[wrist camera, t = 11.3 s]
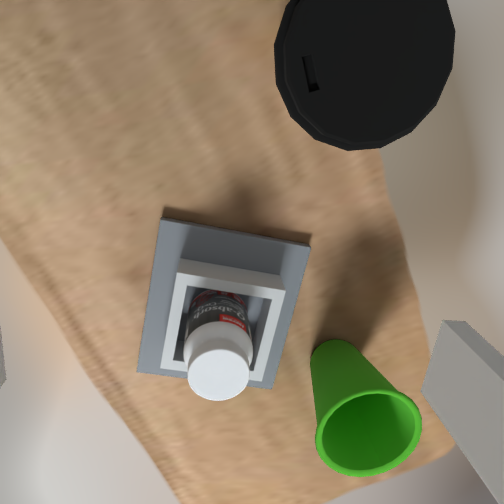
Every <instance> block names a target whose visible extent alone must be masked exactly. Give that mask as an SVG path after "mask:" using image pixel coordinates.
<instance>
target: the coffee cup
mask: <svg viewBox="0 0 504 504" xmlns="http://www.w3.org/2000/svg"><path fill="white" fill-rule="evenodd" d="M454 40H455V28H454V24H453V21H452V17H451V14H450V10H449V7H448V4H447V0H290V2H289V3H288V4H287V6H286V8H285V11H284V14H283V18H282V21H281V24H280V27H279V30H278V33H277V37H276V40H275V43H274V56H275V77H276V85H277V87H278V90H279V92H280V94H281V96H282V99H283V101H284V103H285V105H286V108H287V110H288V112H289V114H290V117H291V118H292V119H294V120H295V121H296V122H297V123H298V124H299V125H300V126H301V127H302V128H303V129H304V130H305V131H306V132H307V133H308V134H309V135H311V136H312V137H313V138H314V139H315V140H318V141H320V142H323V143H326V144H329V145H332V146H335V147H338V148H341V149H344V150H347V151H352V150H363V149H375V148H382V147H383V146H386V145H387V144H389V143H391V142H393V141H395V140H397V139H399V138H401V137H403V136H405V135H407V134H409V133H411V132H412V131H413V130H414V129H415V128H416V127H417V125H418V124H419V123H420V122H421V121H422V120H423V119H424V118H425V117H426V115H428V114H429V112H430V111H431V110H432V109H433V108H434V107H435V106H436V104H437V102H438V100H439V98H440V95H441V93H442V91H443V88H444V86H445V84H446V81H447V79H448V77H449V75H450V72H451V70H452V65H453V54H454Z"/></svg>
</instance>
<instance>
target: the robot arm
mask: <svg viewBox="0 0 504 504" xmlns="http://www.w3.org/2000/svg"><path fill="white" fill-rule="evenodd" d="M5 380H6V373H5V363H4V355H3V346H2V337H1V328H0V387H1V386H2V385H3V383H4V382H5ZM421 393H422V394H423V396H424V397H425V399H426V400H427V402H428V403H429V404H430V406H431V407H432V409H433V410H434V412H435V413H436V414H437V416H438V417H439V419H440V420H441V422H442V423H443V425H444V426H445V427H446V429H447V430H448V432H449V433H450V435H451V436H452V437H453V439H454V440H455V442H456V443H457V445H458V446H459V448H460V449H461V450H462V452H463V453H464V455H465V456H466V458H467V459H468V460H469V462H470V463H471V465H472V466H473V468H474V469H475V471H476V472H477V473H478V474H479V476H480V478H481V479H482V481H483V482H484V483H485V485H486V486H487V488H488V489H489V491H490V492H491V494H492V495H493V496H494V498H495V499H496V501H497V502H498V503H499V504H504V356H503V355H502V354H500V353H499V352H498V351H497V350H496V349H495V348H494V347H493V346H492V345H491V344H490V343H488V342H487V341H486V340H485V339H484V338H483V337H482V336H481V335H480V334H479V333H477V332H476V331H475V330H474V329H473V328H472V327H471V326H470V325H469V324H468V323H466V322H465V321H451V320H442V323H441V327H440V330H439V334H438V336H437V340H436V343H435V346H434V349H433V353H432V356H431V359H430V362H429V366H428V369H427V372H426V375H425V379H424V382H423V385H422V388H421Z"/></svg>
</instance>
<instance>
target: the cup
mask: <svg viewBox="0 0 504 504" xmlns="http://www.w3.org/2000/svg"><path fill="white" fill-rule="evenodd" d="M310 368H311V376H312V385H313V393H314V402H315V410H316V419H317V429H316V435H315V443H316V449H317V451H318V454H319V456H320V458H321V459H322V460H323V461H324V462H325V463H326V464H327V465H328V466H329V467H330V468H332V469H334V470H335V471H337V472H338V473H342V474H345V475H348V476H356V477H364V476H373V475H377V474H380V473H384V472H386V471H388V470H390V469H392V468H394V467H396V466H397V465H399V464H400V463H401V462H403V461H404V460H405V459H406V458H407V457H408V456H409V455H410V454H411V453H412V452H413V451H414V449H415V447H416V445H417V443H418V442H419V439H420V435H421V432H422V418H421V415H420V412H419V409H418V407H417V406H416V404H415V403H414V402H413V400H412V399H410V398H409V397H408V396H406V395H405V394H403V393H401V392H399V391H397V390H396V389H395V388H394V387H393V386H392V385H391V383H390V382H389V381H388V380H387V379H386V378H385V377H384V376H383V375H382V374H381V373H380V372H379V371H378V370H377V369H376V368H375V367H374V366H373V365H372V364H371V363H370V362H369V361H368V360H367V359H366V358H365V357H364V356H363V355H362V354H361V353H360V352H359V351H358V350H357V349H356V348H355V347H354V346H353V345H352V344H350V343H349V342H346V341H343V340H338V339H335V340H329V341H326V342H324V343H322V344H321V345H319V346H318V347H317V348H316V349H315V351H314V352H313V355H312V357H311V361H310Z"/></svg>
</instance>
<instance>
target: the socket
mask: <svg viewBox="0 0 504 504" xmlns="http://www.w3.org/2000/svg"><path fill="white" fill-rule="evenodd" d="M310 250H311V247H310V245H309V244H304V243H299V242H294V241H288V240H283V239H277V238H272V237H267V236H261V235H256V234H251V233H245V232H240V231H234V230H229V229H224V228H218V227H213V226H208V225H202V224H197V223H192V222H186V221H181V220H175V219H170V218H165V217H161V220H160V226H159V232H158V238H157V245H156V251H155V258H154V264H153V270H152V277H151V283H150V289H149V296H148V302H147V309H146V315H145V321H144V328H143V334H142V341H141V347H140V353H139V360H138V366H137V372H140V373H148V374H156V375H163V376H171V377H179V378H187V379H188V368H187V367H186V364H185V361H184V354H183V351H184V342H185V333H186V324H187V315H188V310H189V307H190V305H191V303H192V301H193V300H194V299H195V298H196V297H197V296H198V295H199V294H201V293H202V292H204V291H207V290H210V289H213V290H219V291H225V292H231V293H235V294H237V295H238V296H239V297H240V298H241V299H242V300H243V302H244V304H245V306H246V309H247V313H248V320H249V326H250V332H251V338H252V344H253V358H252V362H251V364H250V366H249V369H250V377H249V381H248V383H247V385H246V386H249V387H257V388H265V389H272V387H273V383H274V380H275V376H276V372H277V369H278V365H279V362H280V358H281V354H282V351H283V347H284V344H285V340H286V336H287V333H288V329H289V326H290V322H291V318H292V315H293V311H294V308H295V304H296V300H297V297H298V293H299V290H300V286H301V282H302V279H303V275H304V272H305V268H306V264H307V261H308V257H309V254H310Z"/></svg>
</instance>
